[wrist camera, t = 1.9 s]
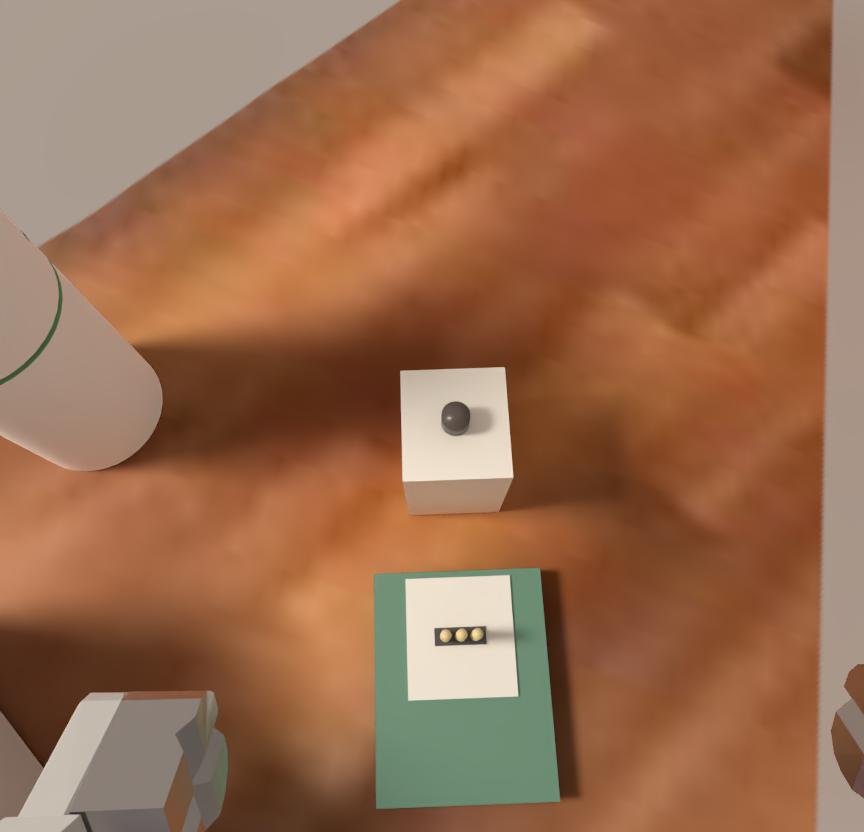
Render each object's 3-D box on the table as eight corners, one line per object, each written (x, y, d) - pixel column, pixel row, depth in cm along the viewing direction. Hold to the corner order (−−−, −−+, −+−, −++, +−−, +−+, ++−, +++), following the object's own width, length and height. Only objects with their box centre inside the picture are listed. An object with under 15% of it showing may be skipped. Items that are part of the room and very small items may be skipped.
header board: (556, 797, 31) (569, 812, 28) (377, 804, 31) (371, 820, 28) (537, 570, 34) (547, 561, 31) (375, 576, 34) (370, 567, 31)
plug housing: (498, 512, 35) (516, 471, 28) (408, 515, 35) (401, 475, 28) (492, 419, 37) (507, 357, 29) (406, 422, 37) (399, 361, 29)
